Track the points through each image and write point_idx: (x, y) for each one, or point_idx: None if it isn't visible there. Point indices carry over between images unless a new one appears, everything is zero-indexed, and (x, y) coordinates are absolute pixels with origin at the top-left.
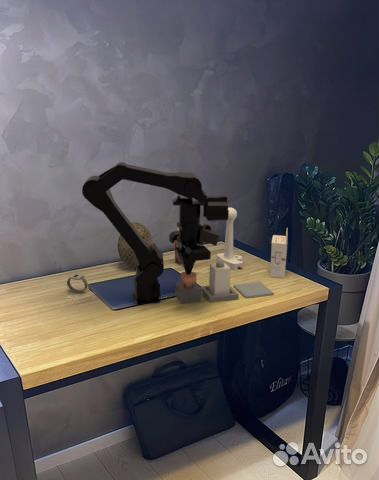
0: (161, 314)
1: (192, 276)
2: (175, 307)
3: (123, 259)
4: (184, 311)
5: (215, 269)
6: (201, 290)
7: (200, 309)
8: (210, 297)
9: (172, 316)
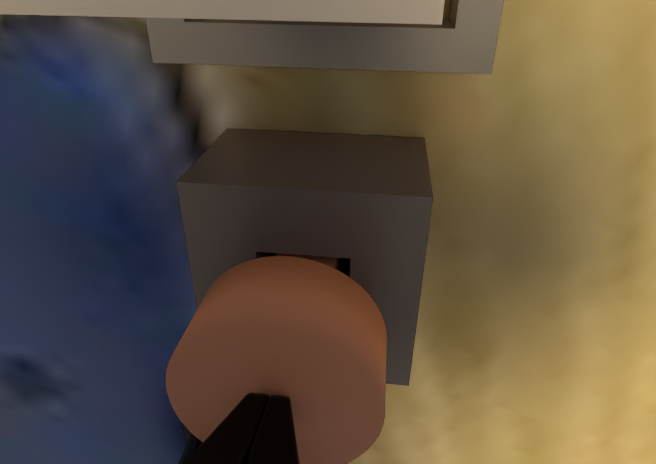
0: (495, 438)
1: (374, 397)
2: (436, 346)
3: None
4: (529, 320)
5: (408, 12)
6: (429, 192)
7: (564, 205)
8: (479, 71)
9: (558, 402)
